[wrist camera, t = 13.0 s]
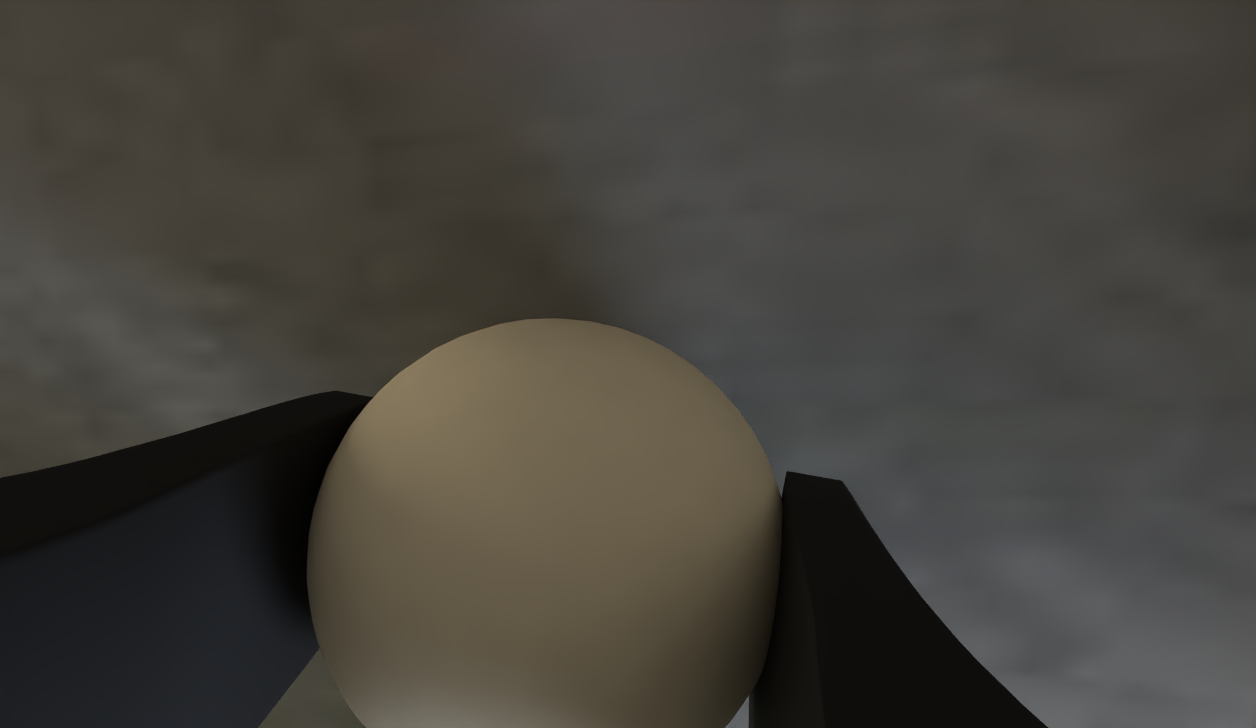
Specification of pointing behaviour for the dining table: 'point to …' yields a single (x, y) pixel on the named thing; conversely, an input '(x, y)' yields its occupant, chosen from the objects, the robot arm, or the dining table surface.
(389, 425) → the cream ball
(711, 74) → the dining table surface
